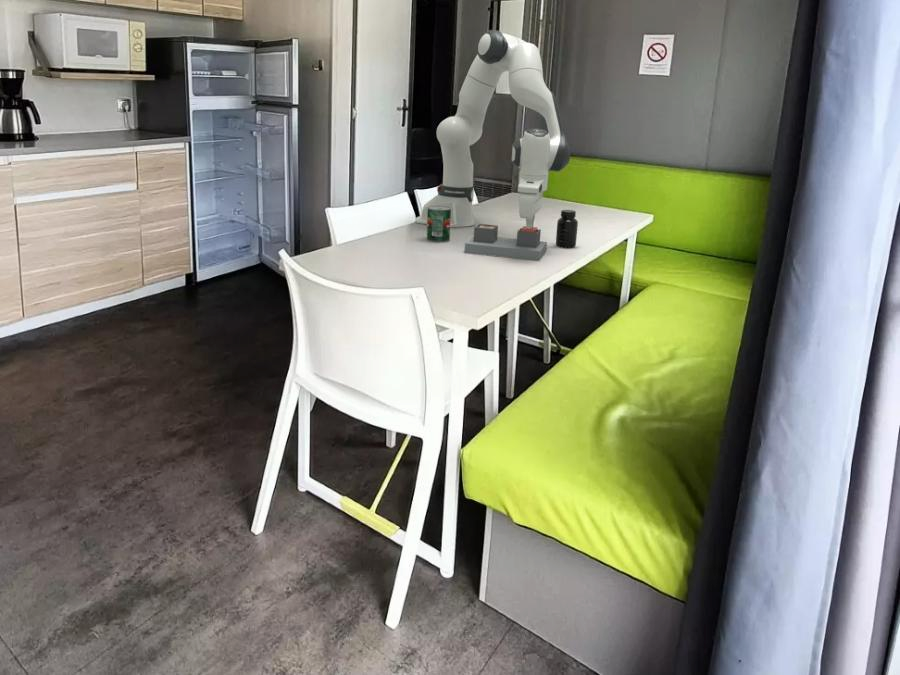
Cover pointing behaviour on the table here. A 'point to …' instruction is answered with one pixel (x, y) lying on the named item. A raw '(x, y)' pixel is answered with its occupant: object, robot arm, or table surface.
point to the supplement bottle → (567, 229)
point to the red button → (532, 230)
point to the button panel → (506, 244)
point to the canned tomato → (438, 223)
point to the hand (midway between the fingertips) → (529, 227)
